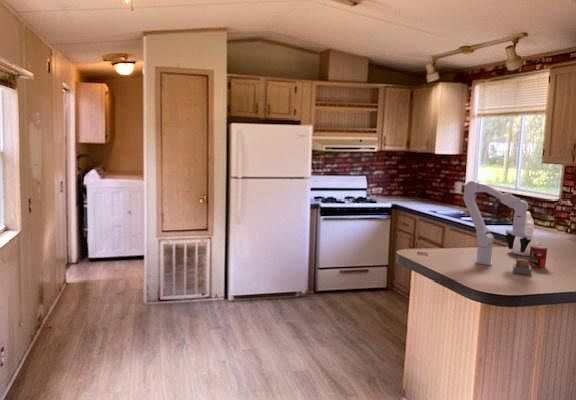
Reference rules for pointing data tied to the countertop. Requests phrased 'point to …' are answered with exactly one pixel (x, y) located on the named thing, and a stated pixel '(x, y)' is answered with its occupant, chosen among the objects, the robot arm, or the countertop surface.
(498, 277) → the countertop surface
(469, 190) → the robot arm
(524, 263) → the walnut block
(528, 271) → the well
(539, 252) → the canned food
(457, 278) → the countertop surface
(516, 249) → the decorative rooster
